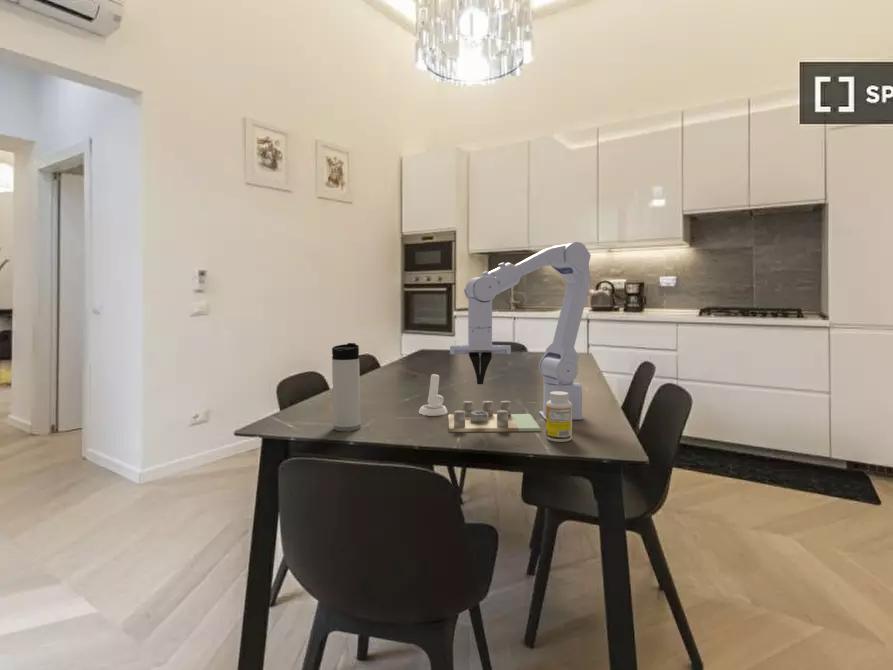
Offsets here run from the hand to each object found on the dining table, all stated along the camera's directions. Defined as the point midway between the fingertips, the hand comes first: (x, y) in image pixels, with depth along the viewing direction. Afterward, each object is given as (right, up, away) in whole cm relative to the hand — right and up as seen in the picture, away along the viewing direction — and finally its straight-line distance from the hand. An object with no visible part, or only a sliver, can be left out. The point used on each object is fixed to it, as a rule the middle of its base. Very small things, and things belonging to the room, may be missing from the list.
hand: (480, 383), depth 128 cm
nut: (0, -9, +1) cm, 9 cm away
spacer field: (0, -10, +1) cm, 10 cm away
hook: (-12, -9, +14) cm, 20 cm away
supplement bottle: (+16, -11, -13) cm, 23 cm away
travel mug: (-32, -11, -2) cm, 33 cm away
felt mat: (+11, -10, +1) cm, 15 cm away
